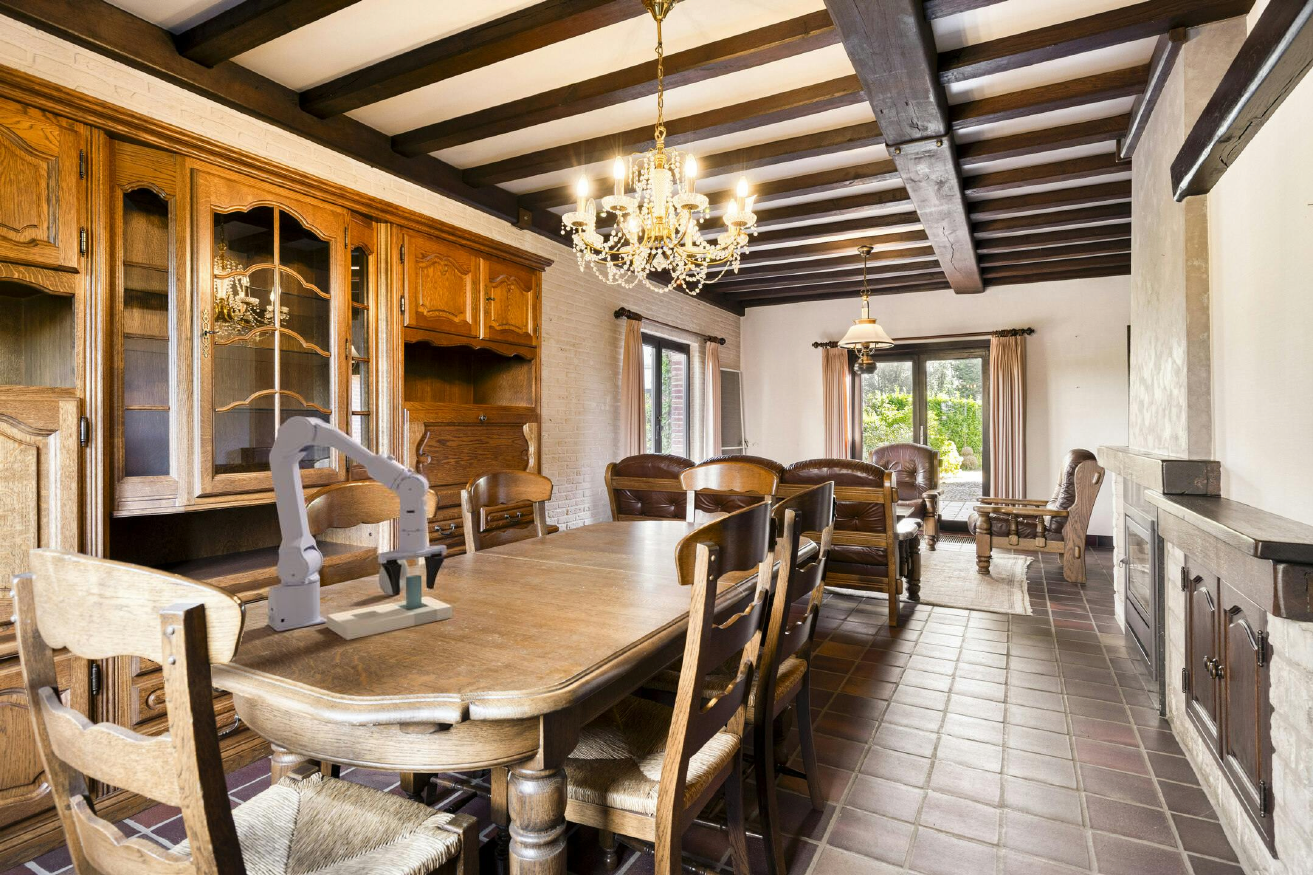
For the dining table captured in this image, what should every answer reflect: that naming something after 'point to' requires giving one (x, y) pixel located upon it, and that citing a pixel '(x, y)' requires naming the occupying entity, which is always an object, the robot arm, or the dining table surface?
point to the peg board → (386, 618)
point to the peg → (413, 592)
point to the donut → (384, 578)
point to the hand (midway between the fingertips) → (413, 591)
